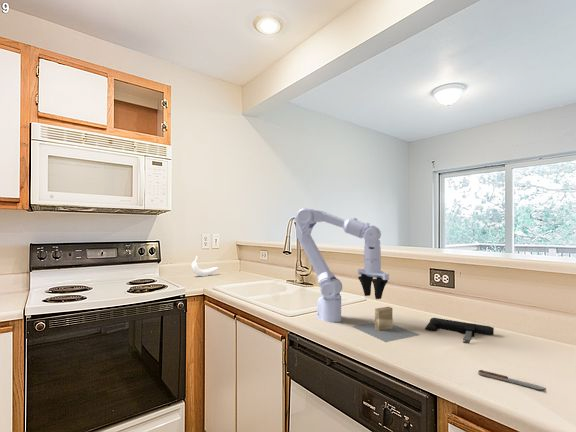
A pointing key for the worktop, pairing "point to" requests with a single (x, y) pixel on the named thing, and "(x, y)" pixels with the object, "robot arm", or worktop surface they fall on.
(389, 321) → the wooden block
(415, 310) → the worktop surface
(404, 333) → the mat
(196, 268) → the banana
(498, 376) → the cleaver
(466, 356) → the worktop surface
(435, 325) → the black toy gun
